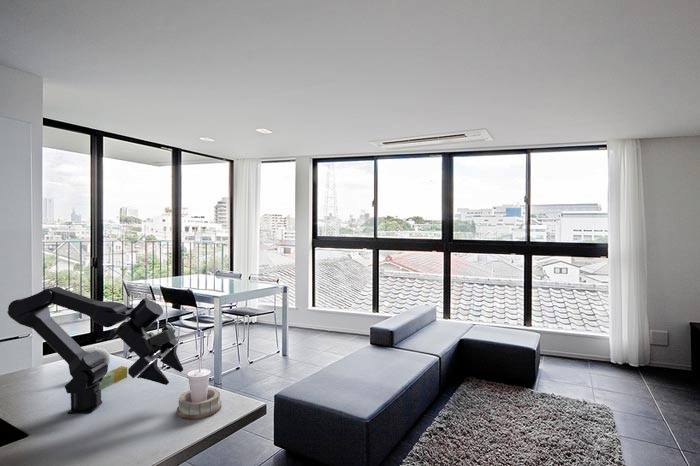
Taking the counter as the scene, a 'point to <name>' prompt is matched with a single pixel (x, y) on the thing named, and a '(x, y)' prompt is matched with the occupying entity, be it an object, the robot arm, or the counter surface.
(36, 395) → the counter surface
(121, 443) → the counter surface
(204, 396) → the smoothie
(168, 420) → the counter surface
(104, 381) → the medication box
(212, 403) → the stone fire pit
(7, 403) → the counter surface
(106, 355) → the donut
